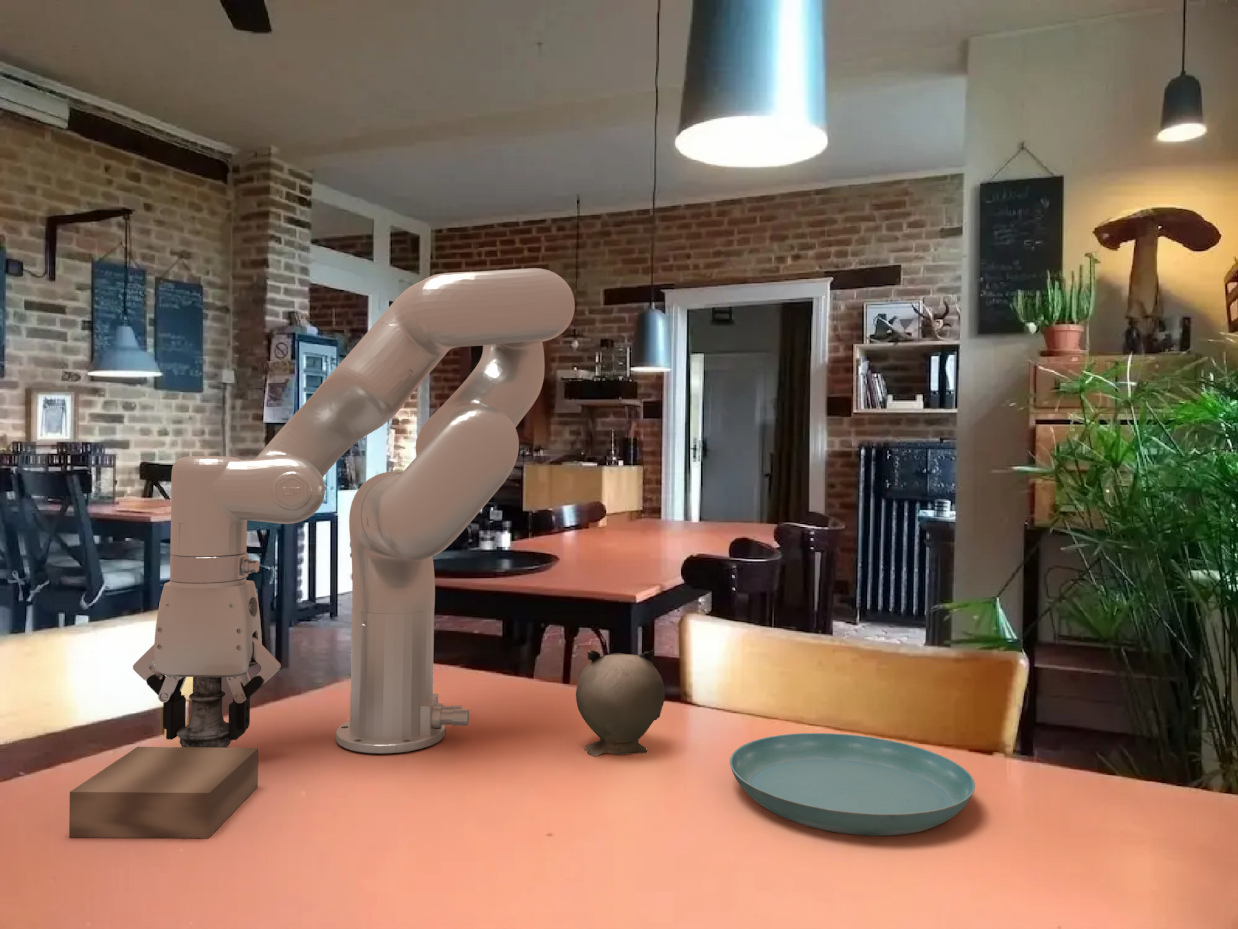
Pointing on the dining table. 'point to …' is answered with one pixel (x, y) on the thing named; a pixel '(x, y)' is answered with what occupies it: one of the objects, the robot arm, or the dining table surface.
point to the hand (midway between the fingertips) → (206, 734)
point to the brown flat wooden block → (164, 793)
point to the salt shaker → (206, 716)
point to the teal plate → (852, 783)
